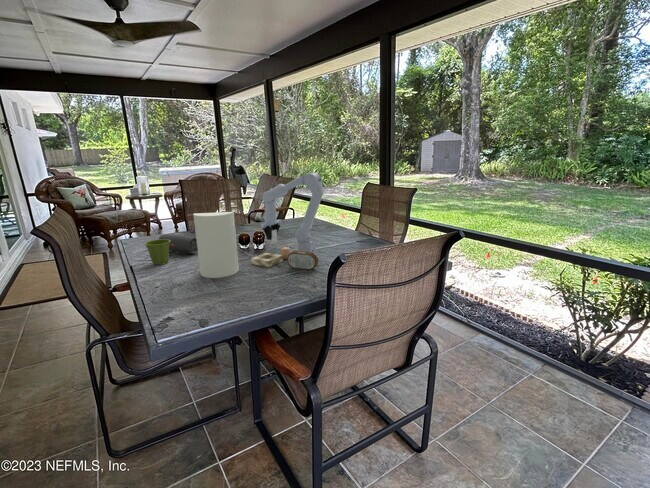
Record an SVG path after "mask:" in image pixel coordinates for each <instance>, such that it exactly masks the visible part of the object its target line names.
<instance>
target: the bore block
mask: <svg viewBox="0 0 650 488" xmlns="http://www.w3.org/2000/svg"><path fill="white" fill-rule="evenodd" d="M250 260H251V264H252V265H256V266H261V267H265V268H270V267H273V266H276V265H277V264H280V263H282V262H283V261H284V259H283V255H281V254H276V253H271V252H264V253H260V254H259V255H257V256H254V257H253V256H252V257H251V259H250Z"/></svg>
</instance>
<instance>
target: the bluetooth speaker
mask: <svg viewBox="0 0 650 488" xmlns="http://www.w3.org/2000/svg"><path fill="white" fill-rule="evenodd" d="M159 239H168V240H170V243H169V251H170V252H171V251H172V253H173V252H178V253H177V254H180V253H187V254H190V253H191V254H193V253H196V252H197V253H198V248H197V240H196V236H195V237H194V236H189V235H183V234H182V235H180V234H162V235H160V236H159V238H158V240H159Z"/></svg>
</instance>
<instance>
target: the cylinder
mask: <svg viewBox="0 0 650 488" xmlns="http://www.w3.org/2000/svg"><path fill="white" fill-rule="evenodd" d="M192 215H193V222H194V223H193V224H194V230H195V231H194V232H195V238H196V240H197V248H198V251H197V253H198V263H199V271H200V275H201V277H203V278H210V279H219V278H227V277H230V276H233V275H235V274H237V273H238V272H239V271H240V267H239V266H240V265H239V258H238V255H239V254H238V245H237V237H236V236H237V235H236V233H237V232H236V223H235V213H234V211H222V212H221V211H219V212H201V213H200V212H199V213H193V214H192Z"/></svg>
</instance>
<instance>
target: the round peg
mask: <svg viewBox="0 0 650 488" xmlns="http://www.w3.org/2000/svg"><path fill="white" fill-rule="evenodd" d="M290 253H291V247H288V246H286V247H285V246H284V247H280V255H283V260H287V257H288V255H289V254H290Z"/></svg>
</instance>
